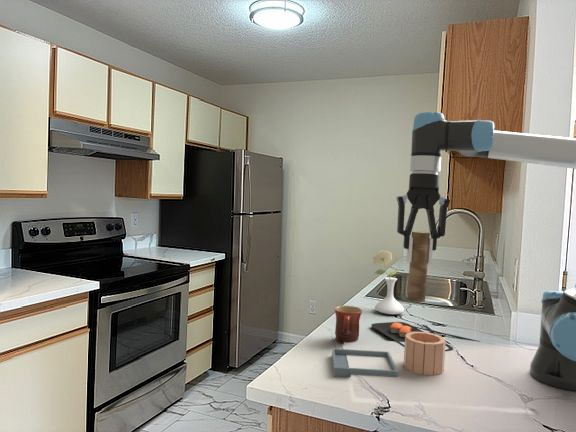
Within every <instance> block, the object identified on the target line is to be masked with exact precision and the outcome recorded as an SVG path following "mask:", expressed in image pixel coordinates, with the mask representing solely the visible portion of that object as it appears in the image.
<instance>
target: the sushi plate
mask: <svg viewBox="0 0 576 432" xmlns="http://www.w3.org/2000/svg"><path fill="white" fill-rule="evenodd" d="M371 327H372V329H374V330H375V331H378V332H379V333H380V334H382V335H383V336H385V337H387V338H388V339H391V341H393V342H395V343H398V344H399V345H400V346H402V347H403V348H404V347H405V335H406V334H407V333H409V332H424V331H427V332H429V333H432V334H438V335H439V334H440V335H444V336H448V337H453V338H455V339H456V338H457V339H460V340H467V341H473V342H479V343H480V342H481V340H476V339H472V338H467V337H465V336H464V337H463V336H460V335H459V336H458V335H454V334H450V333H445V332H440V331H437V330H436V331H435V330H432V329H431V328H430V327H429V326H428V325H426V324H424V327H425V328H424V327H419V326H415V325H412V324H409V323H407V322H404V321H389V322H378V323H377V322H376V323H372V324H371ZM403 343H404V344H403ZM445 347H446V349H445V352H450V351H453V350H454V347H453V346H452V345H450V344H449V343H445Z"/></svg>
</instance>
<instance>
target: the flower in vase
mask: <svg viewBox="0 0 576 432" xmlns="http://www.w3.org/2000/svg"><path fill="white" fill-rule="evenodd" d="M372 260H373V264H375V265H378V266H380V267H383V266H384V269H381V268H380V269H377V270H376V271H375V272H374V274H376V275H380V276H382V275H384V274H386V275H387V276H386V277H384V280H385V282H386V286H387V292H386V296H385V298H383V299H382V300H380V301H378V303H376V305H375V306H374V309H375V310H376V311H377V312H379V313H381V314H385V315H386V314H387V315H399V314H402V313H404V311H405V308H404V306H403V305H402V304H401V303H400V302H399V301H398V300H396V298H395V297H394V289H395V288H394V287H395V284H396V282H397V281H398V278H397V277H393V275H395V274H396V273H397V272H398V269H395V270H391V271H389V272H387V270H386V266H387V265H389V264H390V263H391V262H392V261H393V254H392V252H391V251H389V250H386V249H384V250H382V249H381V250H380V251H377V252H376V253H375V254H374V256H373V258H372ZM390 276H392V277H390Z"/></svg>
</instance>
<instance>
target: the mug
mask: <svg viewBox="0 0 576 432" xmlns="http://www.w3.org/2000/svg"><path fill="white" fill-rule="evenodd" d="M333 310H334V313H335V319H336V320H335V331H334V334H335V340H336V341H337V342H338V343H340V344H343V345H345V343H353V342H357V341H358V340H359V336H360V320H361V316H362V313H363V309H362V308H360V307H356V306H353V305H338V306H335V307H334V308H333Z"/></svg>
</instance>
